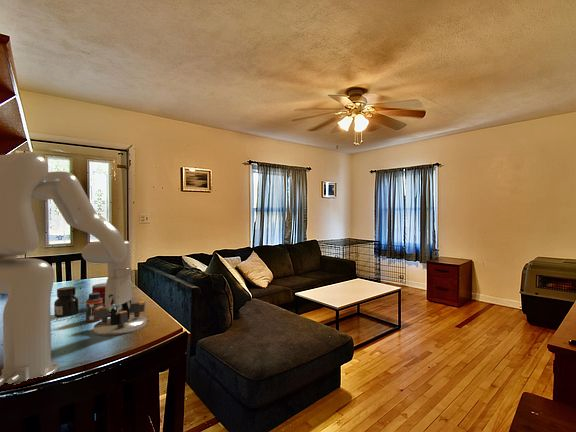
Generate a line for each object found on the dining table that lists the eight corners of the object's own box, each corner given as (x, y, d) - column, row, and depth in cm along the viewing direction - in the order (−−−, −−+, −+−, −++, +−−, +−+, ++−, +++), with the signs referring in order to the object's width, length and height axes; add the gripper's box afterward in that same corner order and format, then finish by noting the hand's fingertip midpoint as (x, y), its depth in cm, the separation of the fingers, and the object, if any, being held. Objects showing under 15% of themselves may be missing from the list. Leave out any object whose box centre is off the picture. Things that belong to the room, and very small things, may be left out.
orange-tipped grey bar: (114, 320, 116) (113, 306, 116) (110, 322, 113) (109, 307, 113) (99, 320, 116) (98, 306, 116) (94, 322, 113) (94, 308, 113)
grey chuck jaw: (113, 325, 110) (113, 310, 110) (120, 323, 112) (120, 308, 112) (120, 328, 106) (120, 313, 106) (127, 326, 108) (127, 311, 108)
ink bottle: (54, 314, 134) (54, 288, 134) (78, 310, 139) (77, 284, 140) (54, 319, 126) (53, 291, 126) (79, 314, 132) (78, 288, 132)
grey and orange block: (128, 318, 118) (127, 303, 118) (129, 316, 121) (129, 302, 121) (144, 316, 120) (143, 302, 120) (145, 314, 122) (145, 301, 122)
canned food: (94, 306, 145) (93, 284, 145) (112, 303, 149) (112, 282, 149) (91, 310, 138) (90, 287, 139) (110, 307, 142) (110, 285, 142)
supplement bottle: (94, 322, 120) (94, 295, 120) (82, 322, 121) (82, 295, 122) (106, 318, 126) (105, 291, 126) (94, 317, 127) (94, 291, 127)
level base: (137, 333, 107) (137, 323, 107) (83, 338, 104) (83, 327, 104) (152, 317, 125) (152, 308, 125) (106, 321, 122) (106, 311, 122)
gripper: (123, 269, 118) (124, 314, 118) (93, 278, 101) (94, 330, 101) (141, 269, 118) (142, 314, 117) (114, 277, 100) (115, 330, 100)
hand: (120, 321), depth 109 cm, fingers closed on grey chuck jaw, 5 cm apart
